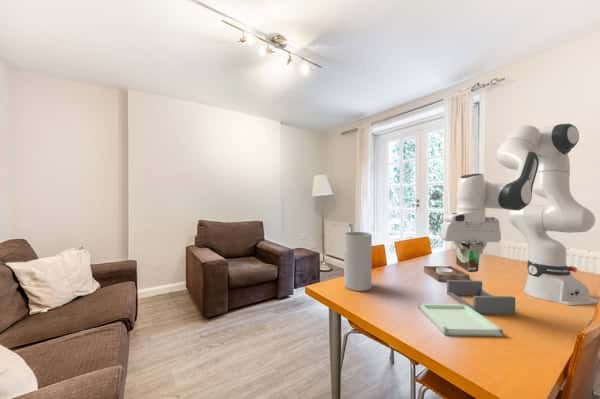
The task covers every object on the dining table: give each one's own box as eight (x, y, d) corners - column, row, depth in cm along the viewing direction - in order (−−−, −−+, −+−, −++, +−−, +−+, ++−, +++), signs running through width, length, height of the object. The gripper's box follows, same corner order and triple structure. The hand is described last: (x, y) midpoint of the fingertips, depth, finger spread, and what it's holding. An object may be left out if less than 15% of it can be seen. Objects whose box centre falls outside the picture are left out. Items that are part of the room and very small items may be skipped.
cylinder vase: (357, 280, 120) (357, 231, 119) (377, 288, 109) (377, 234, 109) (338, 285, 113) (338, 233, 113) (358, 294, 102) (358, 236, 102)
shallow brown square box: (451, 272, 131) (451, 266, 131) (469, 282, 116) (469, 275, 116) (423, 272, 132) (424, 266, 132) (438, 281, 117) (438, 274, 117)
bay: (479, 294, 102) (480, 280, 102) (515, 314, 84) (515, 297, 84) (446, 294, 102) (446, 280, 102) (475, 313, 85) (475, 297, 85)
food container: (490, 274, 82) (490, 245, 82) (470, 273, 83) (470, 244, 83) (471, 264, 94) (471, 239, 94) (454, 263, 95) (454, 239, 95)
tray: (465, 309, 88) (465, 304, 88) (502, 336, 71) (502, 329, 71) (418, 308, 89) (418, 303, 89) (444, 335, 72) (444, 328, 72)
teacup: (450, 283, 116) (450, 273, 116) (429, 277, 124) (429, 268, 124) (459, 279, 121) (459, 270, 121) (438, 274, 130) (438, 265, 130)
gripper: (492, 216, 91) (491, 252, 91) (438, 215, 92) (438, 250, 92) (506, 217, 85) (505, 256, 85) (447, 216, 86) (447, 254, 86)
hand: (469, 253), depth 89 cm, fingers closed on food container, 5 cm apart
